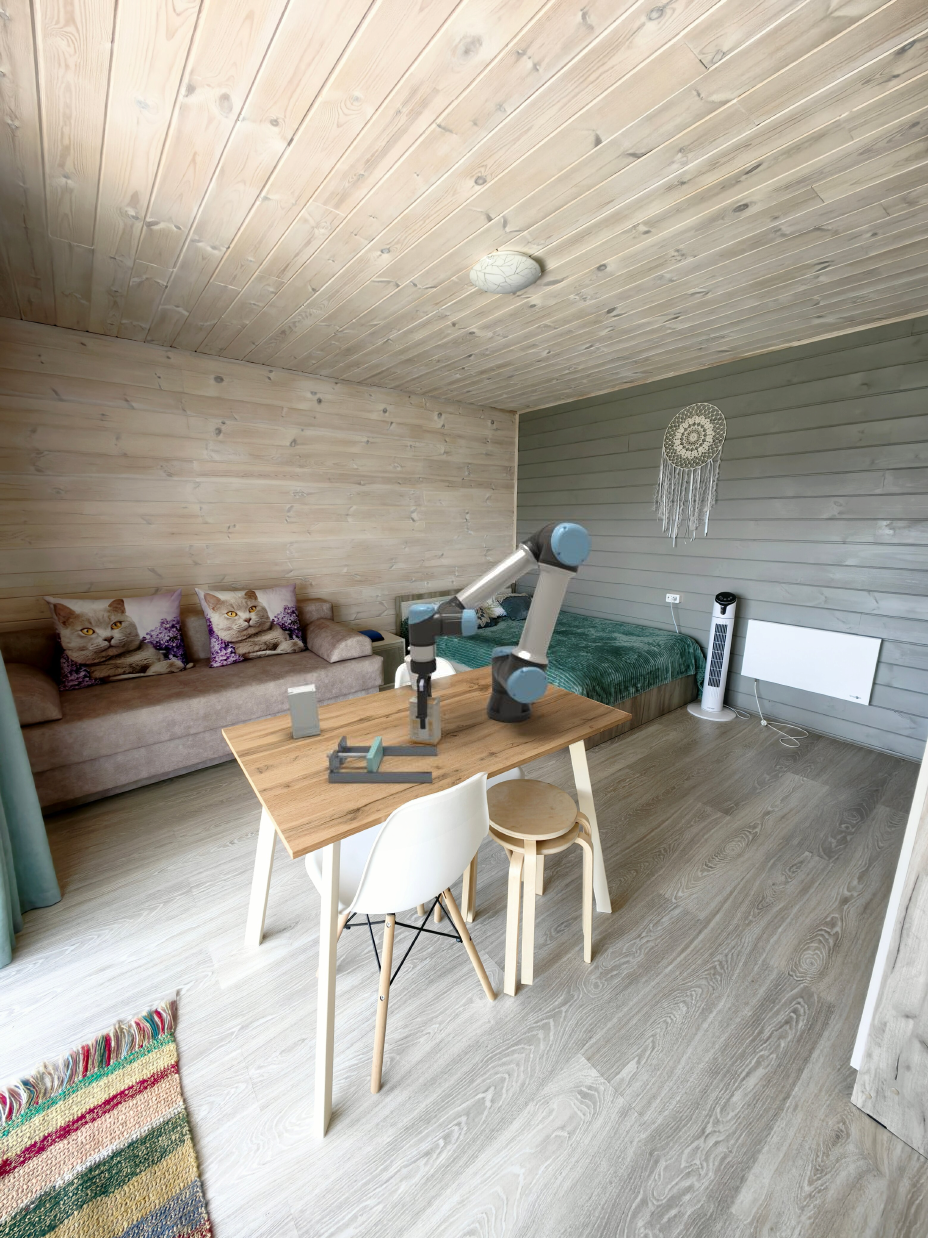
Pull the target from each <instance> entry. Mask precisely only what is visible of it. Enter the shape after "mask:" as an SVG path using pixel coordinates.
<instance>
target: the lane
mask: <svg viewBox="0 0 928 1238" xmlns="http://www.w3.org/2000/svg"><path fill="white" fill-rule="evenodd" d="M347 737H348V736H347V735H343V736H342V737H341V739H340V740H339V742H338V743H337V749H334V750H333V751H332V752H331V753H332V754H331V756H330V757H329V758H328V766H329V769H328V770H329V772H328V783H329V784H335V783H337V784H338V783H340V784H341V783H342V784H343V783H344V784H345V783H346V784H348V783H349V784H353V783H354V784H357V783H359V784H360V783H361V784H365V783H366V784H367V783H369V784H370V783H371V784H372V783H374V784H377V783H378V784H379V783H381V784H389V783H395V784H398V783H399V784H401V783H405V784H406V783H407V784H409V783H410V784H414V783H415V784H416V783H417V784H419V783H421V784H422V783H423V784H425V783H427V784H429V783H431V784H433V771H376V772H367V771H341V768H340V766H341V765H342V766H343V765H344V764H345V762H346V761H347V758H339V753H369V751H370V749H371V746H372V745H348V740H347V739H348V738H347ZM382 746H383V756H382V757H388V756H389V757H392V756H393V757H394V756H398V757H400V756H401V757H407V756H408V757H411V756H412V757H413V756H418V757H424V756H425V757H431V756H432V757H433V756H436V757H437V756H438V746H437V745H382Z"/></svg>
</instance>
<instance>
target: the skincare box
mask: <svg viewBox="0 0 928 1238" xmlns="http://www.w3.org/2000/svg"><path fill="white" fill-rule="evenodd" d="M287 700H288V707H289V715H290V721H291V722H290V723H291V729H292V736H293V740H294V739H300V738H305V737H311V736H317V735H321V725H320V717H319V709H318V708H319V707H318V701H317V690H316V685H315V684H314V683H313V684H308V685H302V686H301V685H300V686H295V687H288V688H287Z"/></svg>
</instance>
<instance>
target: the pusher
mask: <svg viewBox="0 0 928 1238" xmlns="http://www.w3.org/2000/svg"><path fill="white" fill-rule="evenodd" d="M370 746H371V749H370V751H369V753H339V758H346V759H362V758H363V759H365V760H366V763H365V764H366V772H378V771H377V770H378V768H379V766H380V764H381V761H382V758H383V757H384V756H383V746H384V745H383V737H382V736H376V737H375V738H374V740H373V742H372V745H370ZM332 753H333V752H331V753H330V752H327V753H326V758H327V759H329V757H330V756H331V754H332Z"/></svg>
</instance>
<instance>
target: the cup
mask: <svg viewBox="0 0 928 1238" xmlns="http://www.w3.org/2000/svg"><path fill="white" fill-rule="evenodd" d="M411 659H412V658H411V657H410V654H408V655H406V656H405V657H404V661H405V665H406V669H407V673H408V677H409V680H410V685H411V689H412V690H413V691H417V684H416V680H417V679H418V676H419V675H418V674H414V673H412V672H411V668H410V660H411ZM432 674H433V673H431V674H430V676H431V677H432Z"/></svg>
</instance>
